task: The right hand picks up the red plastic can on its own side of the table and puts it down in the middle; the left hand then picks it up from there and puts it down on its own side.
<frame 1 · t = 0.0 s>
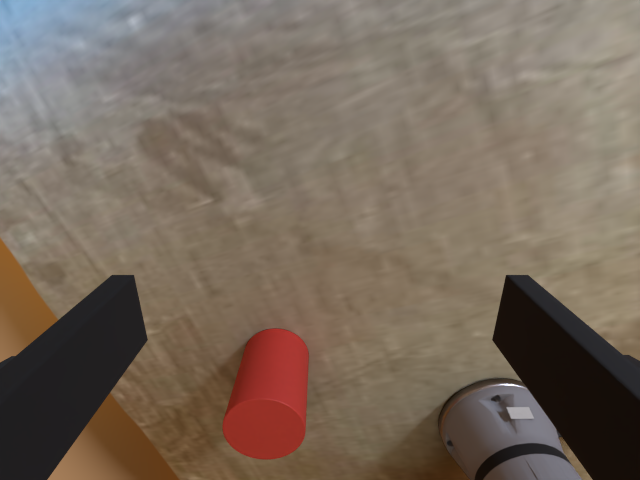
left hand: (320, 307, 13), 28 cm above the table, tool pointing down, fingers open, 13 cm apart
can: (276, 355, 48), on the table
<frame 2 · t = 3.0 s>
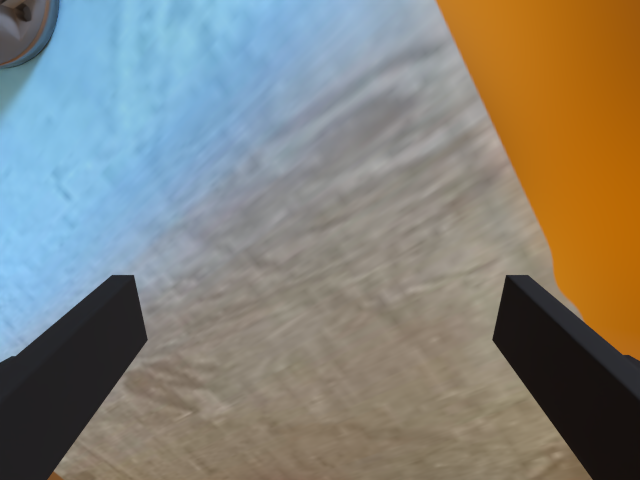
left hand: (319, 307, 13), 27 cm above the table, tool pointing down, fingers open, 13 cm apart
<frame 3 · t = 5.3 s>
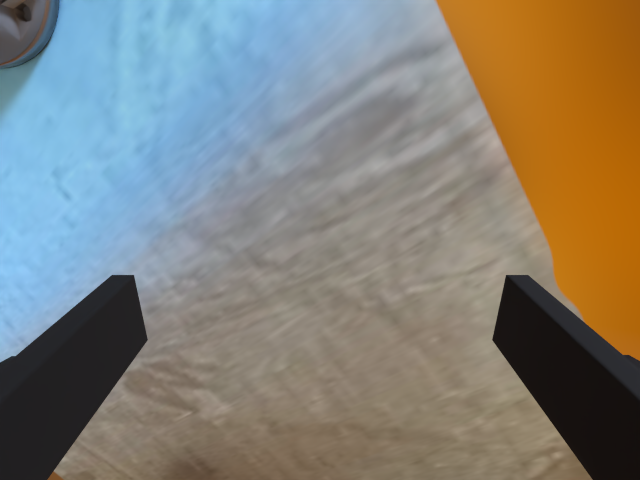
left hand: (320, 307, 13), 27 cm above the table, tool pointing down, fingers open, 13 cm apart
when the right hand's fingers open (6 cm above the table, at t = 7.6 s): can drops 1 cm, on the table.
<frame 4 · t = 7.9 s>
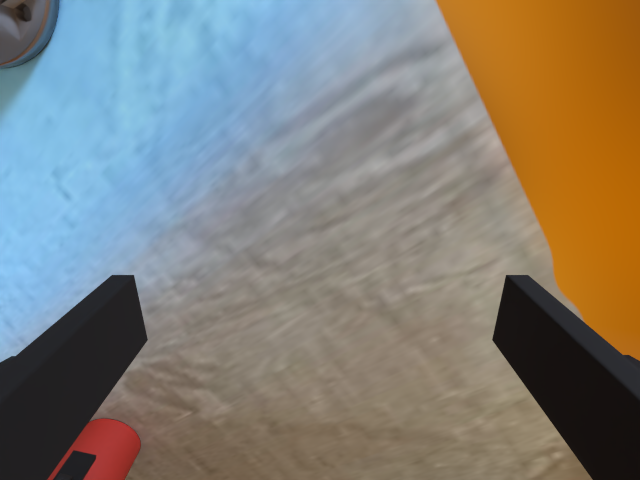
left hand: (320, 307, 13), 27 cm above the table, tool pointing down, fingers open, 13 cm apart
can: (110, 440, 52), on the table
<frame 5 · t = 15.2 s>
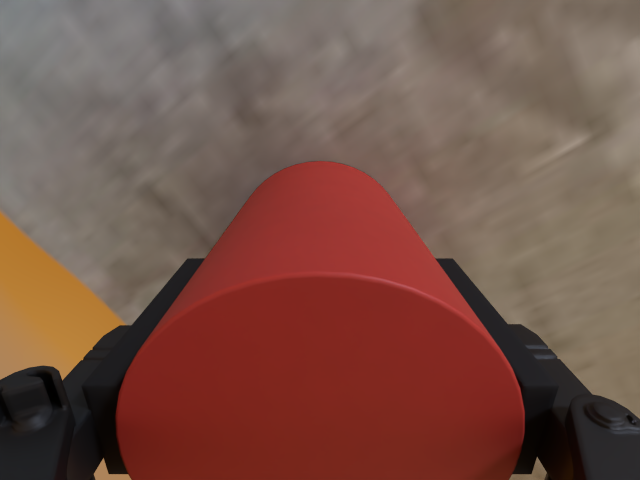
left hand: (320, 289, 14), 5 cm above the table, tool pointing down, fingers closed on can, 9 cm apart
can: (320, 244, 19), on the table, touching left hand
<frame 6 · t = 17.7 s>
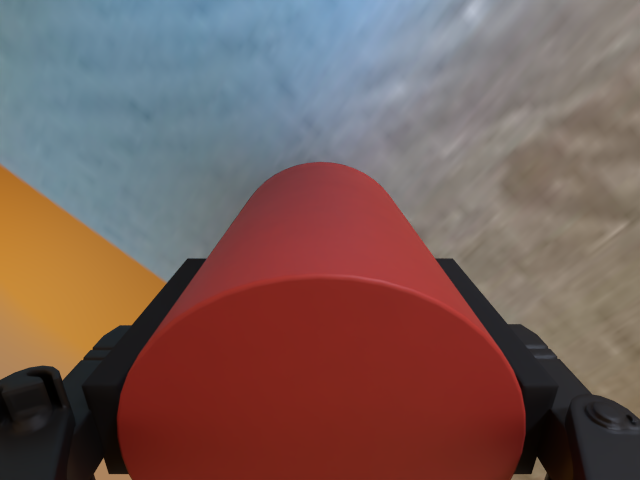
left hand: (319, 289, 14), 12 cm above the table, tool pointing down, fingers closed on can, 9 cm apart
can: (320, 245, 19), point 7 cm above the table, touching left hand
when the left hand's fingers open (6 cm above the table, at t = 20.6 s): can drops 1 cm, on the table.
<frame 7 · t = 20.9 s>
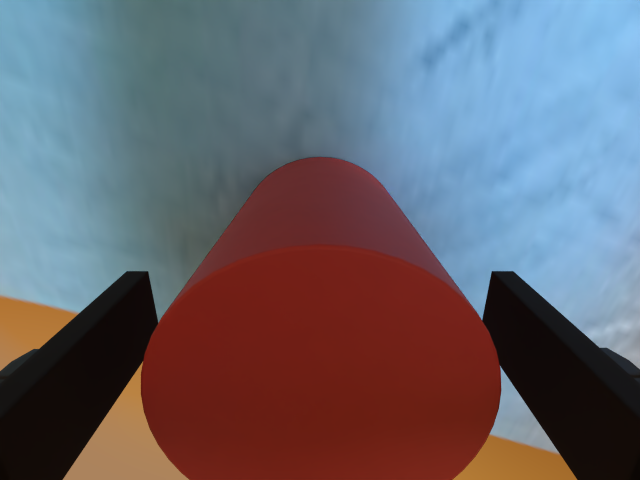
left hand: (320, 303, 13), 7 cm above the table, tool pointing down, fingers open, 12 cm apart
can: (320, 236, 20), on the table
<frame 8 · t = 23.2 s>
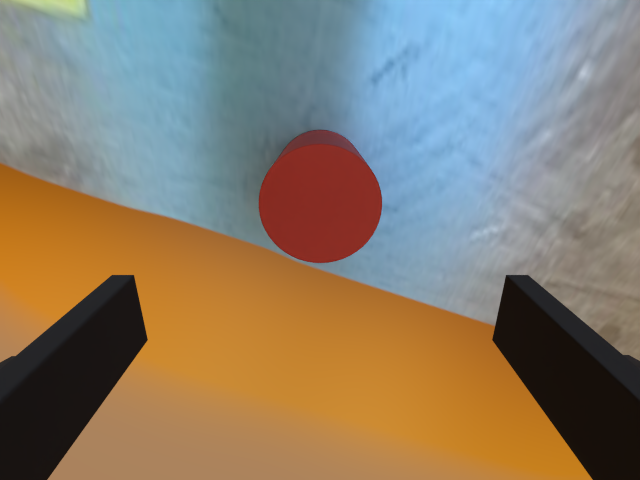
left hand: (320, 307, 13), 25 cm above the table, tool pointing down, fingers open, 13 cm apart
can: (320, 174, 36), on the table
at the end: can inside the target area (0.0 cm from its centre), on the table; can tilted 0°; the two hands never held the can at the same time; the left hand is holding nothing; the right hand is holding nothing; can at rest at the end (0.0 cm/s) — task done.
